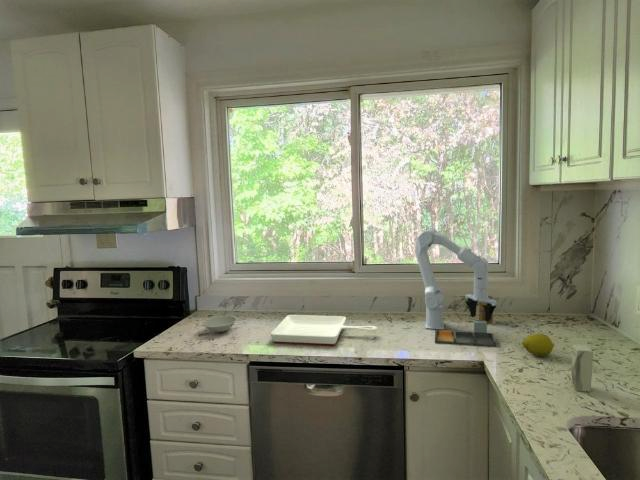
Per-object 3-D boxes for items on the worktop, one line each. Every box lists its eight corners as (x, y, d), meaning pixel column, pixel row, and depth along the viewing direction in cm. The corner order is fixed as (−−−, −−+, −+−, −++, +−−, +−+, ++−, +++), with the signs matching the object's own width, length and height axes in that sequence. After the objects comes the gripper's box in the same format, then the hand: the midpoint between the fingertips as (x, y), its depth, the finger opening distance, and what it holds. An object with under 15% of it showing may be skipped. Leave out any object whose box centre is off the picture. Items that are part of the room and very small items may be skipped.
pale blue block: (473, 331, 182) (473, 320, 182) (486, 332, 181) (486, 321, 180) (474, 333, 179) (474, 322, 179) (486, 334, 178) (486, 323, 177)
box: (570, 383, 131) (571, 343, 130) (586, 385, 130) (588, 344, 129) (575, 391, 126) (576, 350, 125) (592, 392, 125) (593, 351, 124)
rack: (435, 334, 179) (435, 329, 179) (493, 338, 173) (493, 333, 173) (434, 342, 170) (434, 337, 170) (496, 346, 164) (496, 341, 163)
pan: (288, 324, 202) (287, 314, 201) (379, 327, 193) (379, 317, 192) (269, 345, 174) (268, 334, 174) (375, 350, 165) (374, 338, 165)
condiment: (497, 322, 193) (497, 297, 192) (483, 325, 189) (484, 299, 188) (484, 318, 200) (484, 294, 198) (471, 321, 196) (471, 296, 195)
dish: (225, 339, 182) (224, 328, 181) (196, 336, 186) (195, 325, 186) (244, 326, 199) (243, 316, 198) (217, 324, 203) (216, 314, 202)
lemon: (551, 352, 156) (552, 331, 155) (557, 360, 149) (557, 339, 148) (519, 350, 159) (520, 330, 158) (523, 358, 152) (524, 337, 151)
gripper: (460, 285, 182) (460, 316, 184) (488, 291, 170) (488, 324, 171) (472, 283, 186) (471, 313, 187) (500, 289, 173) (499, 321, 174)
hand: (480, 318), depth 179 cm, fingers open, 7 cm apart
